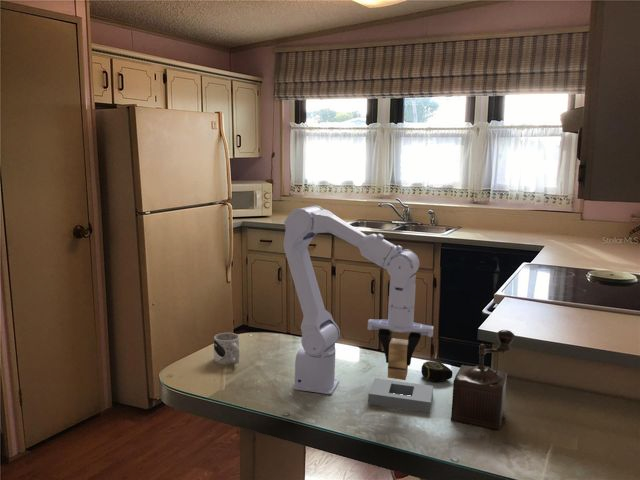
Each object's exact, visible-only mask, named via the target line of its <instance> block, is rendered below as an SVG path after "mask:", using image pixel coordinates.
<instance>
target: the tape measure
mask: <svg viewBox="0 0 640 480" xmlns="http://www.w3.org/2000/svg"><path fill="white" fill-rule="evenodd" d="M421 375H422V377H423V378H424V379H427V380H429V381H432V382H443V381H446V380H451V379H452V378H453V375H454V374H453V371H452V369H451V368H449V367H448V366H447V365H445V364H444V363H442V362H441V361H439V360H435V361H431V360H428V361H427V360H426V361H425V362H423V364H422V365H421Z"/></svg>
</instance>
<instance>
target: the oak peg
mask: <svg viewBox="0 0 640 480" xmlns="http://www.w3.org/2000/svg"><path fill="white" fill-rule="evenodd" d="M407 356H408V339H404V338H403V339H402V338H394V337H393V338H392V337H391V341H390V343H389V358H388V363H387V378H388V379H395V380H402V381H406V379H407V377H408V370H409V369H408V368H409V366H407Z"/></svg>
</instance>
